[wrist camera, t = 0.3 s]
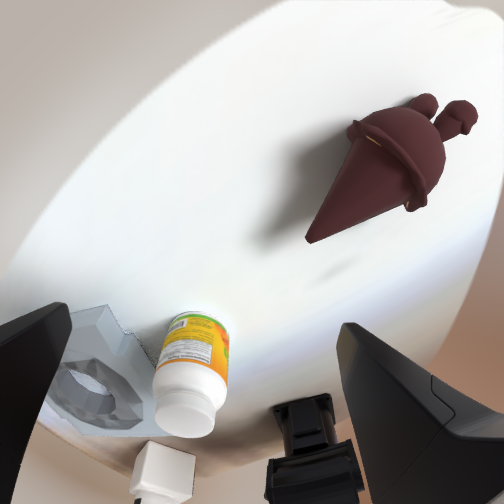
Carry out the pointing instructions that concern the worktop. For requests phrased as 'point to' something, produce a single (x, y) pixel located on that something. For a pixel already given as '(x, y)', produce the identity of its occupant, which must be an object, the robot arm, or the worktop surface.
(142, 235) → the worktop surface
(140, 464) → the medicine bottle
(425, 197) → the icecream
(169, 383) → the supplement bottle
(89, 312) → the socket block
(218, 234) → the worktop surface
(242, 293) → the worktop surface
